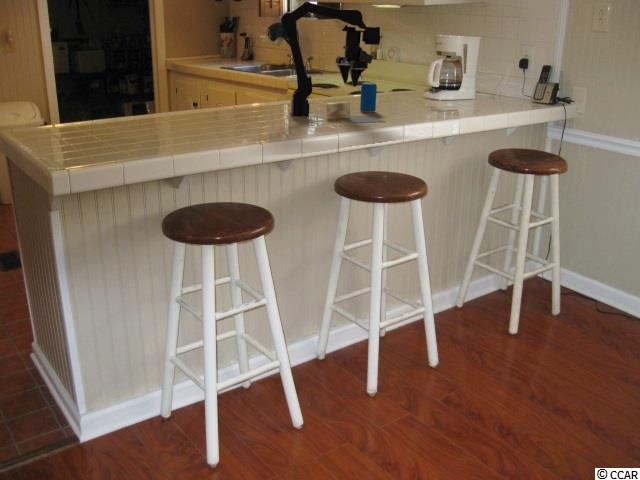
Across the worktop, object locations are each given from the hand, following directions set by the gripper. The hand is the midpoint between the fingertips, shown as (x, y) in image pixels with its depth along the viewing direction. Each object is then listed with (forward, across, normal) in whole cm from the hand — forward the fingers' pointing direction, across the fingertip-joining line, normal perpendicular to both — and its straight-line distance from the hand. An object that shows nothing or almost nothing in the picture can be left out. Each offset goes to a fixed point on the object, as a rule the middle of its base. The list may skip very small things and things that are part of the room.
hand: (349, 84), depth 251 cm
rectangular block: (+12, -4, +6) cm, 14 cm away
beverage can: (+12, +8, -13) cm, 20 cm away
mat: (+12, -8, -3) cm, 15 cm away
